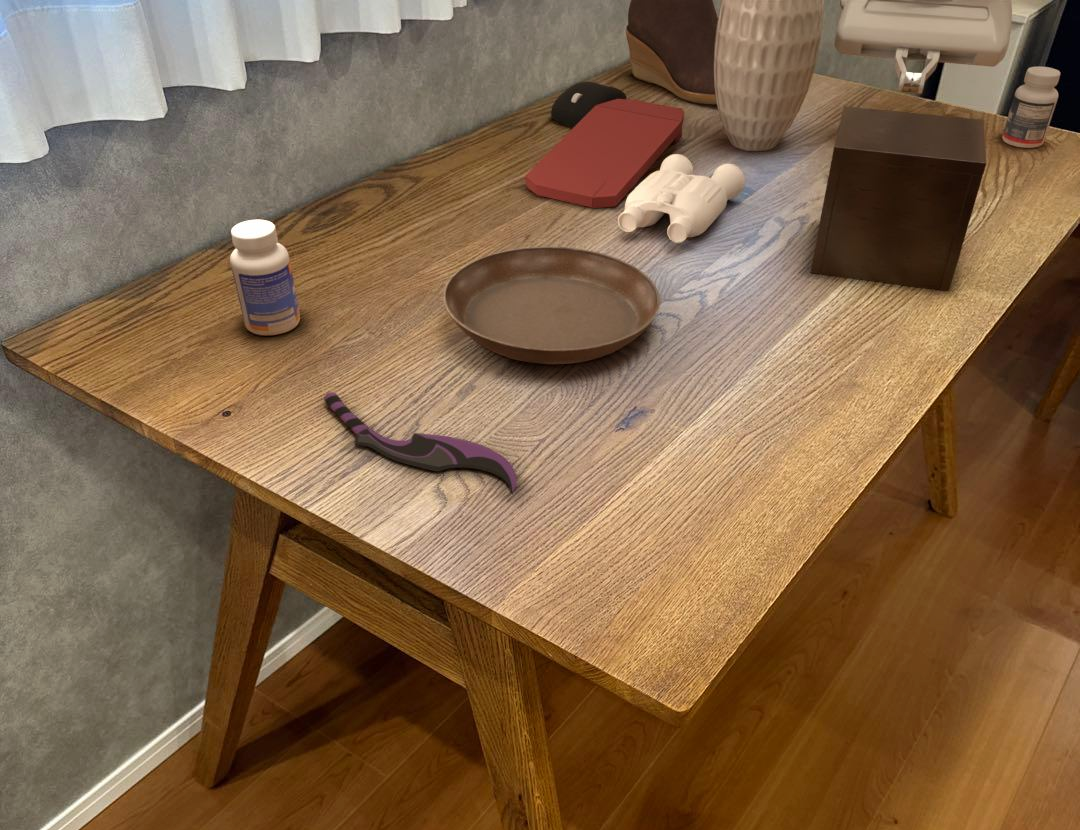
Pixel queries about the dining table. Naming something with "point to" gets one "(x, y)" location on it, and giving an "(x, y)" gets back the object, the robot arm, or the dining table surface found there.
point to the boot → (674, 46)
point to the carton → (606, 153)
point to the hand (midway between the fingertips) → (910, 90)
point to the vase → (764, 66)
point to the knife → (426, 447)
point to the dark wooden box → (899, 197)
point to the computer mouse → (582, 101)
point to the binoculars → (681, 198)
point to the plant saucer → (551, 303)
